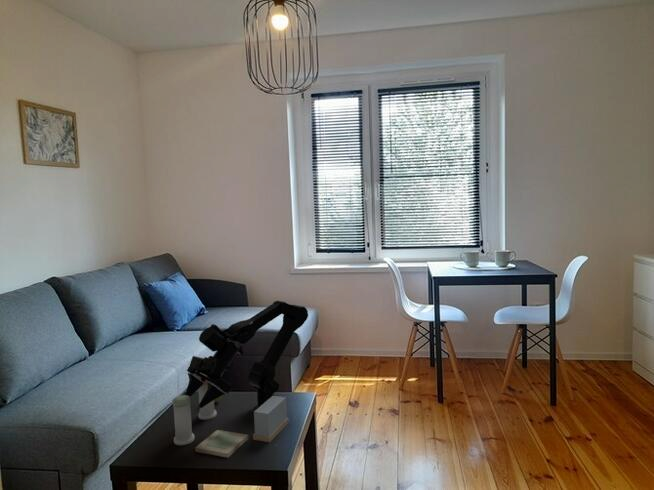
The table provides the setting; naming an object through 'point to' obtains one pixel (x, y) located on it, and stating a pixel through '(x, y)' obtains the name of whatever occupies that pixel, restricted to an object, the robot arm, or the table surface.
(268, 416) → the block
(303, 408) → the table surface
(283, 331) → the robot arm
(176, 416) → the knob
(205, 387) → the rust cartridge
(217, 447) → the pad
